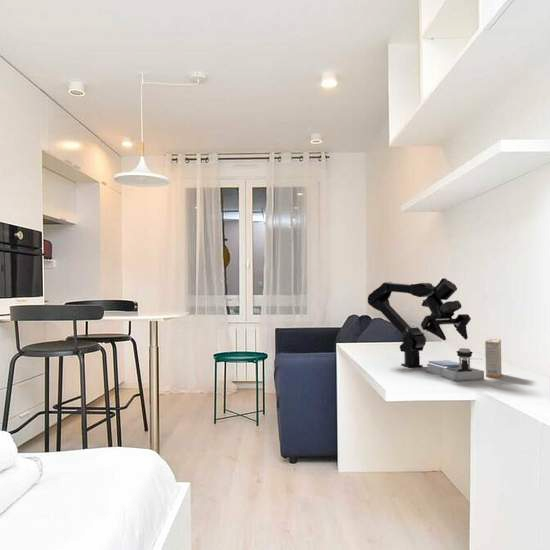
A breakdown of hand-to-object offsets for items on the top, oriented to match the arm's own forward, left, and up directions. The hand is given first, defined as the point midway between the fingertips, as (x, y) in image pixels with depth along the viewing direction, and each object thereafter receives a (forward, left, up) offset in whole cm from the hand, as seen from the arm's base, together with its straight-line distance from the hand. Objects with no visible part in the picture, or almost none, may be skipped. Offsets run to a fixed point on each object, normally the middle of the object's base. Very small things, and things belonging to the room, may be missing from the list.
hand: (456, 339), depth 168 cm
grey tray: (-2, 0, -14) cm, 14 cm away
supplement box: (+3, +14, -14) cm, 20 cm away
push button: (+4, 0, -13) cm, 14 cm away
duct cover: (-6, 0, -10) cm, 12 cm away
